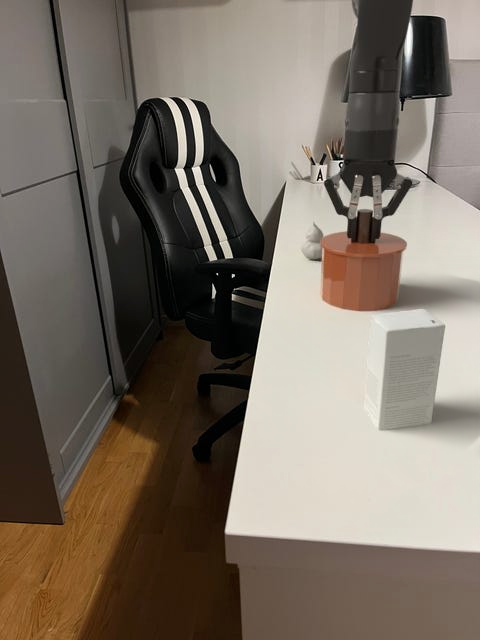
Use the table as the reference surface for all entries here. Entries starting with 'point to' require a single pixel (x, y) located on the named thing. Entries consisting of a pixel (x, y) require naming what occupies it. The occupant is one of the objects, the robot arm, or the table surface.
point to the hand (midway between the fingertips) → (362, 240)
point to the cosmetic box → (402, 368)
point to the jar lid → (363, 240)
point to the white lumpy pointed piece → (313, 243)
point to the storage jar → (360, 281)
